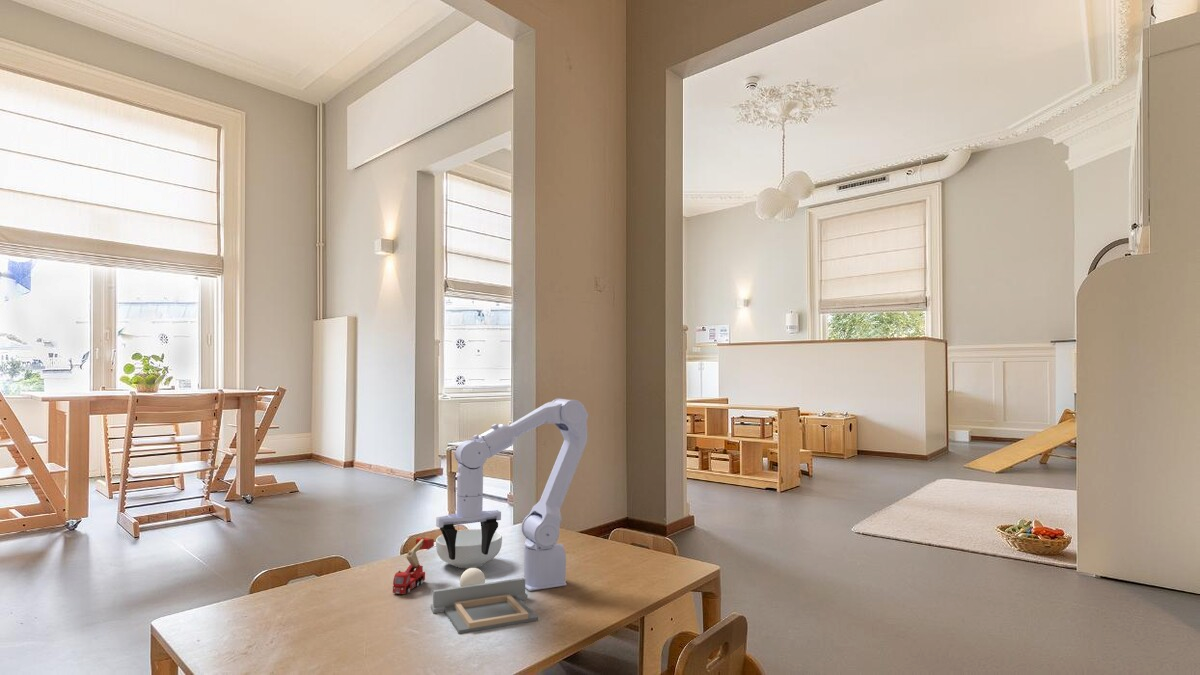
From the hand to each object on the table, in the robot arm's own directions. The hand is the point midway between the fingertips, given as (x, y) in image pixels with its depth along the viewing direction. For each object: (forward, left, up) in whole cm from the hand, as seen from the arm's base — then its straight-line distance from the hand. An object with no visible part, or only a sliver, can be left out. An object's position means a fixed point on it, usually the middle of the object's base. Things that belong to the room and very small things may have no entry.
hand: (468, 556), depth 139 cm
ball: (-1, 0, -6) cm, 6 cm away
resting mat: (-1, +14, -8) cm, 16 cm away
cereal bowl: (-6, -22, -9) cm, 24 cm away
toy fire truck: (+10, -11, -9) cm, 17 cm away
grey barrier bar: (-1, +6, -8) cm, 11 cm away
